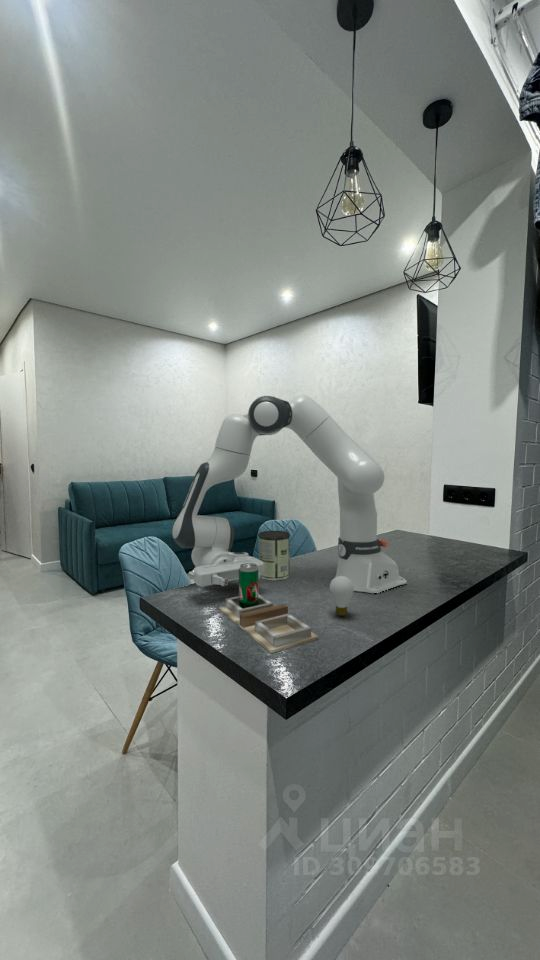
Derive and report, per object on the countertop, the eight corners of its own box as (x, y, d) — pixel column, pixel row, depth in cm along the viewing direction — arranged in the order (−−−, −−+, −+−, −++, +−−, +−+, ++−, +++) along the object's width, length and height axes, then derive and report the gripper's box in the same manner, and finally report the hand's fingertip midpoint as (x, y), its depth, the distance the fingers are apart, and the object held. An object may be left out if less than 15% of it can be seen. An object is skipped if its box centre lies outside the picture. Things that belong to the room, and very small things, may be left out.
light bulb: (331, 610, 101) (331, 571, 100) (354, 612, 99) (354, 574, 99) (327, 619, 95) (328, 579, 95) (352, 622, 94) (352, 581, 93)
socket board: (219, 609, 101) (219, 597, 101) (259, 600, 107) (259, 589, 107) (270, 653, 79) (270, 638, 79) (318, 639, 85) (318, 625, 85)
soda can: (239, 607, 103) (239, 562, 102) (259, 607, 103) (259, 562, 102) (237, 615, 98) (237, 568, 97) (258, 615, 98) (257, 568, 97)
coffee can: (266, 569, 136) (266, 529, 135) (294, 573, 132) (294, 531, 131) (253, 578, 127) (252, 535, 126) (282, 582, 123) (282, 538, 122)
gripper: (186, 561, 110) (204, 574, 98) (251, 551, 120) (274, 562, 108) (186, 583, 110) (204, 598, 98) (251, 571, 120) (274, 584, 108)
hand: (241, 579), depth 103 cm, fingers open, 8 cm apart
